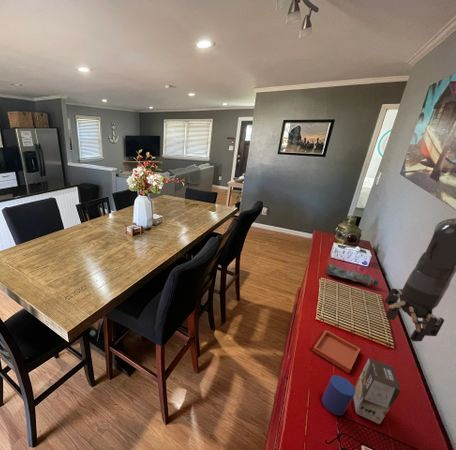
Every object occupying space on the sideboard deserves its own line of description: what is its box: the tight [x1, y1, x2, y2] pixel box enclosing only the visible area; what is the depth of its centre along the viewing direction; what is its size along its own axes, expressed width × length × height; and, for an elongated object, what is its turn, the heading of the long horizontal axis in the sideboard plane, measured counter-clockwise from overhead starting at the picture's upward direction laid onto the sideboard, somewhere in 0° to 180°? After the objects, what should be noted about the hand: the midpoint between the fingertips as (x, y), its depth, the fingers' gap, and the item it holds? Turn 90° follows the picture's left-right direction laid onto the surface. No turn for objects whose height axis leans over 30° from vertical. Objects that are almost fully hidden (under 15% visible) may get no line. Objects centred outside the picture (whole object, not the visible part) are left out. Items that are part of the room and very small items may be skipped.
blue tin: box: [321, 374, 355, 416], centre depth 77 cm, size 6×6×10 cm
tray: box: [312, 329, 361, 374], centre depth 98 cm, size 13×15×2 cm
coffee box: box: [352, 358, 402, 425], centre depth 76 cm, size 9×6×16 cm
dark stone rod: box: [325, 263, 379, 287], centre depth 145 cm, size 13×7×25 cm
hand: (401, 329), depth 74 cm, fingers open, 8 cm apart
